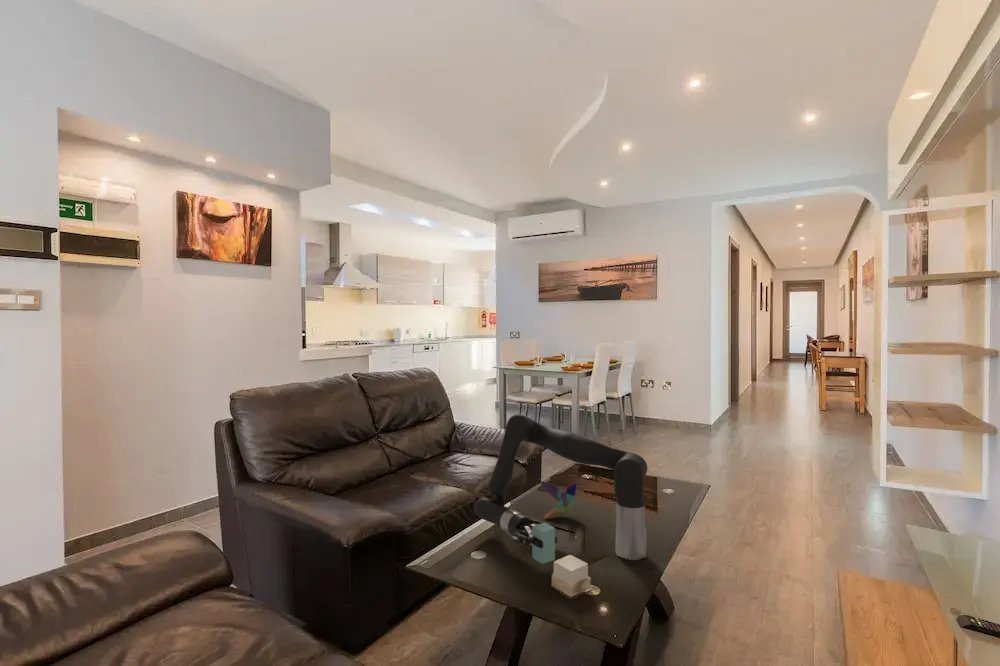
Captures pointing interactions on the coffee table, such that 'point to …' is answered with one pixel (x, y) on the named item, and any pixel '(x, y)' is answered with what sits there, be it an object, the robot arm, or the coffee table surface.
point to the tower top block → (570, 569)
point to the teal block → (544, 543)
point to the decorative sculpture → (561, 498)
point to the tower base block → (573, 588)
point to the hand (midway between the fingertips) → (549, 542)
